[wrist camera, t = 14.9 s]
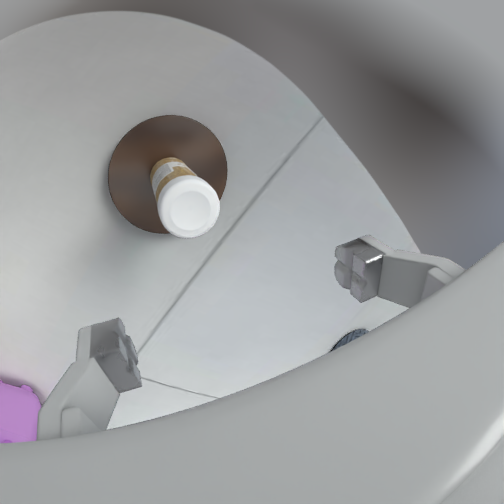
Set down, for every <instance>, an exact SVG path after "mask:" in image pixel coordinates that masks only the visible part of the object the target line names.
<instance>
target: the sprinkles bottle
mask: <svg viewBox="0 0 504 504" xmlns="http://www.w3.org/2000/svg"><path fill="white" fill-rule="evenodd" d="M150 182H151V185H152V187H153V191H154V195H155V198H156V202H157V207H158V213H159V217H160V219H161V222H162V224H163V226H164V227H165V228H166V229H167V231H169V232H170V233H171V234H173V235H174V236H177V237H180V238H185V239H186V238H187V239H189V238H196V237H199V236H201V235H203V234H205V233H206V232H208V231H209V230H210V229H211V228H212V227H213V225H214V224H215V222H216V220H217V218H218V216H219V211H220V202H219V198H218V196H217V193H216V192H215V190H214V189H213V188H212V187H211V186H210V185H209V184H208V183H207V182H206V181H205V180H203V179H201V178H199V177H197V175H196V174H195V173H194V172H193V171H192V170H190V169H189V168H188V167H187V166H186V165H185V163H184V162H183V161H181V160H179V159H177V158H173V157H169V158H164V159H162V160H160V161H158V162H157V163H156V164H155V165H154V167H153V168H152V170H151V174H150Z"/></svg>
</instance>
